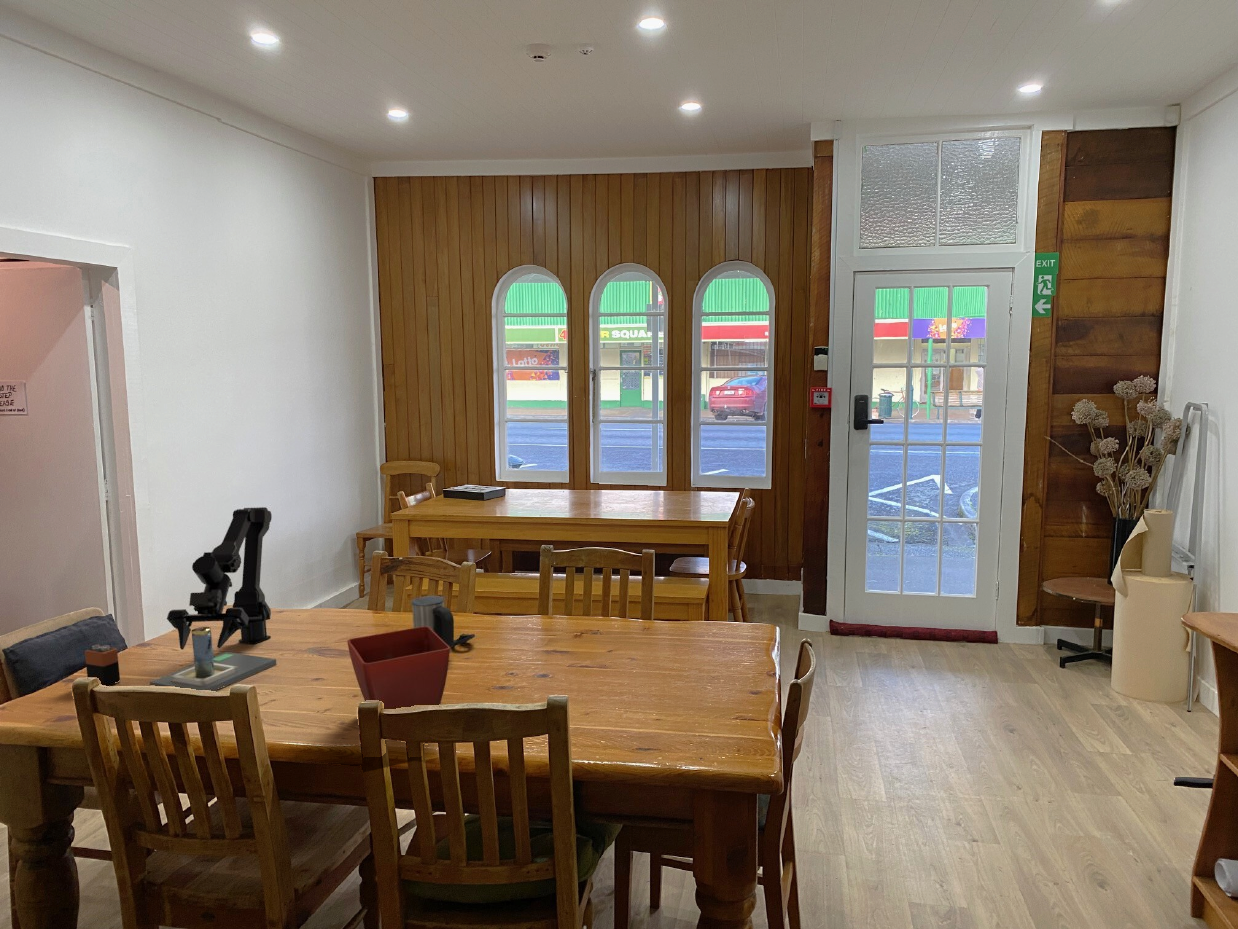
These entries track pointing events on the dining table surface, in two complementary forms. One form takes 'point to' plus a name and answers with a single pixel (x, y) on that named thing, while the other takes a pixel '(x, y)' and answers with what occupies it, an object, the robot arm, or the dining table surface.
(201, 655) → the cell
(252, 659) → the tester board
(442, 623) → the milk frother
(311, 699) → the dining table surface
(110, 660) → the battery
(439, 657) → the plant pot
